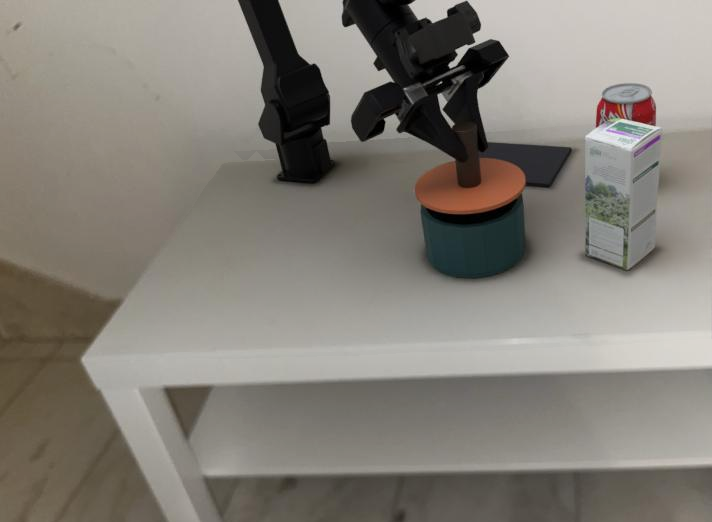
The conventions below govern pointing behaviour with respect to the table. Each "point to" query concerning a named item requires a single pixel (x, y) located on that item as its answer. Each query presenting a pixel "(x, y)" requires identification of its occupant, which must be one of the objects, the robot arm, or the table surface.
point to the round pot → (475, 240)
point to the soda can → (627, 104)
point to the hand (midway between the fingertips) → (475, 155)
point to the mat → (530, 160)
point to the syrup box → (621, 191)
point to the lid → (470, 180)
